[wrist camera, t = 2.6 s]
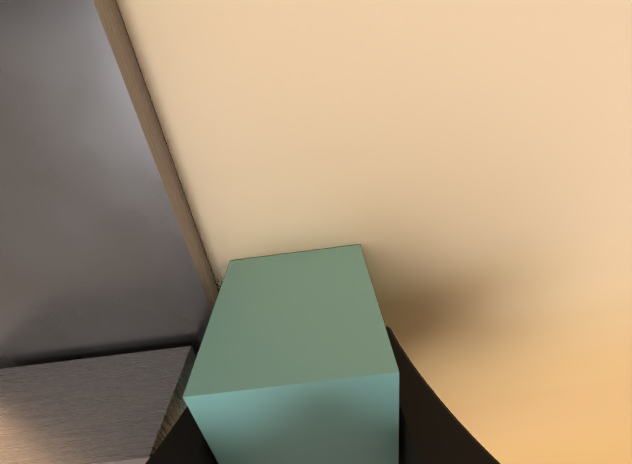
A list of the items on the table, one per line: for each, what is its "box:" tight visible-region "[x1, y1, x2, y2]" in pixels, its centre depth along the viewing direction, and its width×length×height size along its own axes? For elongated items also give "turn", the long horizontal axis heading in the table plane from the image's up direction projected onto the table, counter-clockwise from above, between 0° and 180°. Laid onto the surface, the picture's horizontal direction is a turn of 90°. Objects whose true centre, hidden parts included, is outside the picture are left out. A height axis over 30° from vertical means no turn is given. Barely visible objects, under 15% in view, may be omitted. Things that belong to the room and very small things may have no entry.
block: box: [183, 244, 399, 464], centre depth 10 cm, size 7×4×5 cm, turn 7°
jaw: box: [0, 346, 196, 464], centre depth 10 cm, size 2×8×4 cm, turn 97°
